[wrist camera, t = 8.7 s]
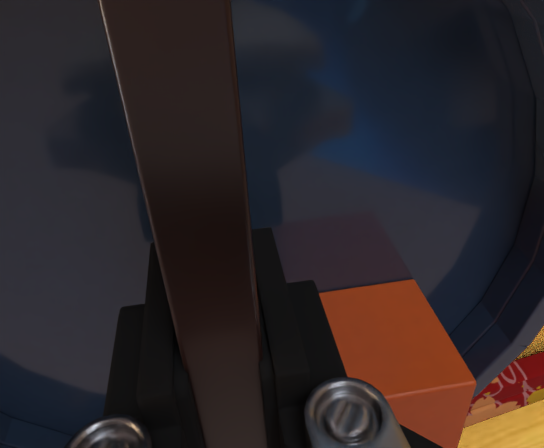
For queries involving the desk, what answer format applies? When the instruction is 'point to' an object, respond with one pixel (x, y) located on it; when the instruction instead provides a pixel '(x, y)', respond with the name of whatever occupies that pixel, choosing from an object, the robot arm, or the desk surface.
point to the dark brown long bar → (196, 197)
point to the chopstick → (509, 390)
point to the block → (403, 356)
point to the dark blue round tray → (277, 179)
